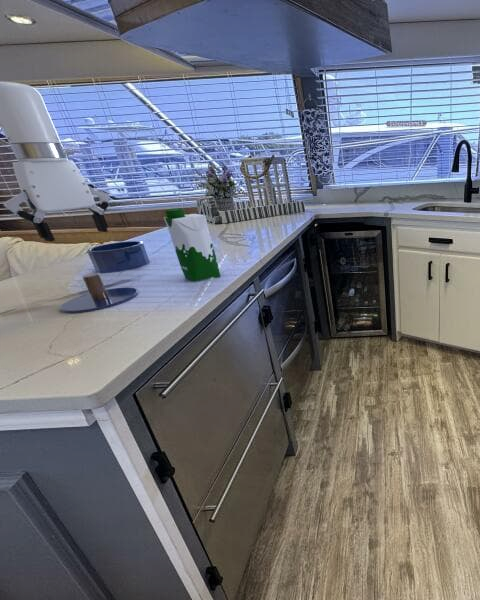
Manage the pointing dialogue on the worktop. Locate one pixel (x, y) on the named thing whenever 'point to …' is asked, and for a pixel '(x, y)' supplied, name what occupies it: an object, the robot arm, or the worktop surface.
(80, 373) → the worktop surface
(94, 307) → the plate lid
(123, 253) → the pot
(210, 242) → the milk carton
